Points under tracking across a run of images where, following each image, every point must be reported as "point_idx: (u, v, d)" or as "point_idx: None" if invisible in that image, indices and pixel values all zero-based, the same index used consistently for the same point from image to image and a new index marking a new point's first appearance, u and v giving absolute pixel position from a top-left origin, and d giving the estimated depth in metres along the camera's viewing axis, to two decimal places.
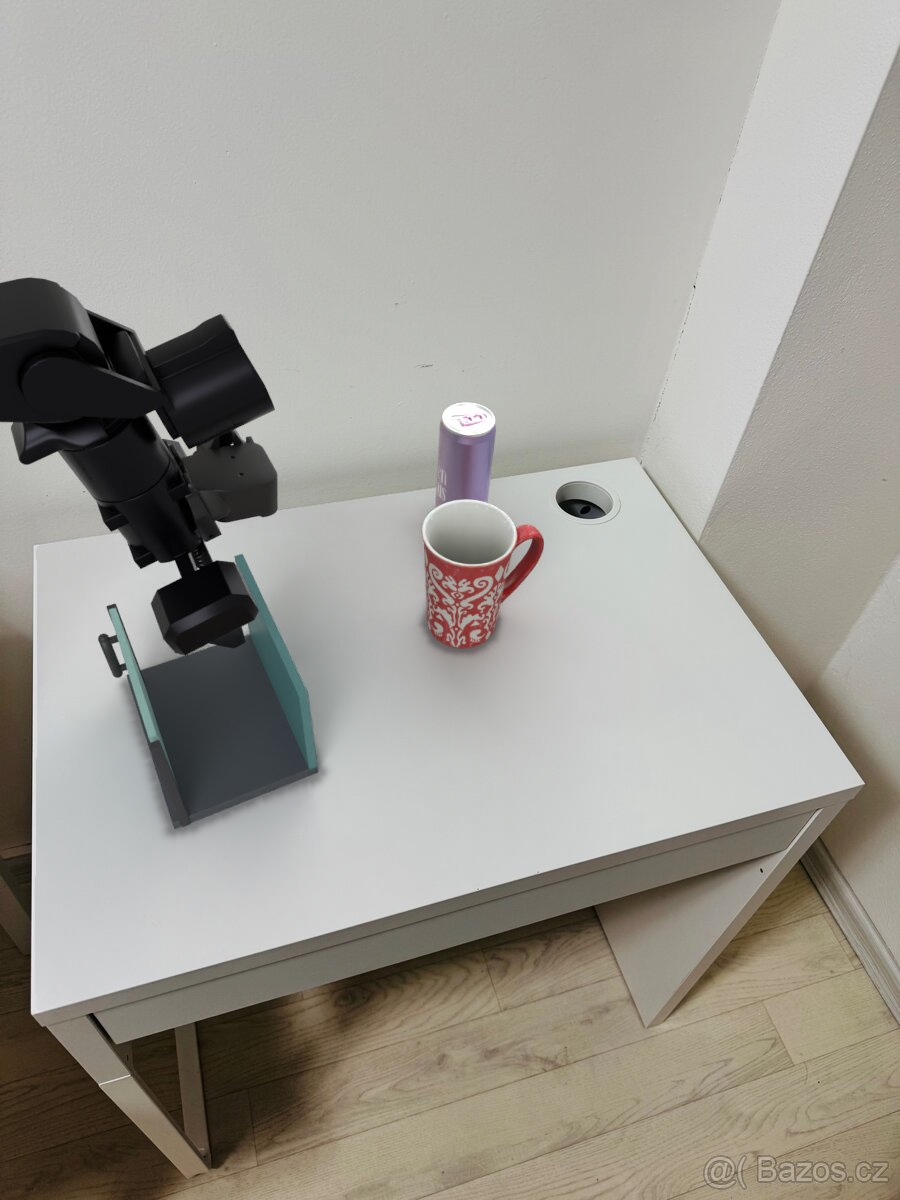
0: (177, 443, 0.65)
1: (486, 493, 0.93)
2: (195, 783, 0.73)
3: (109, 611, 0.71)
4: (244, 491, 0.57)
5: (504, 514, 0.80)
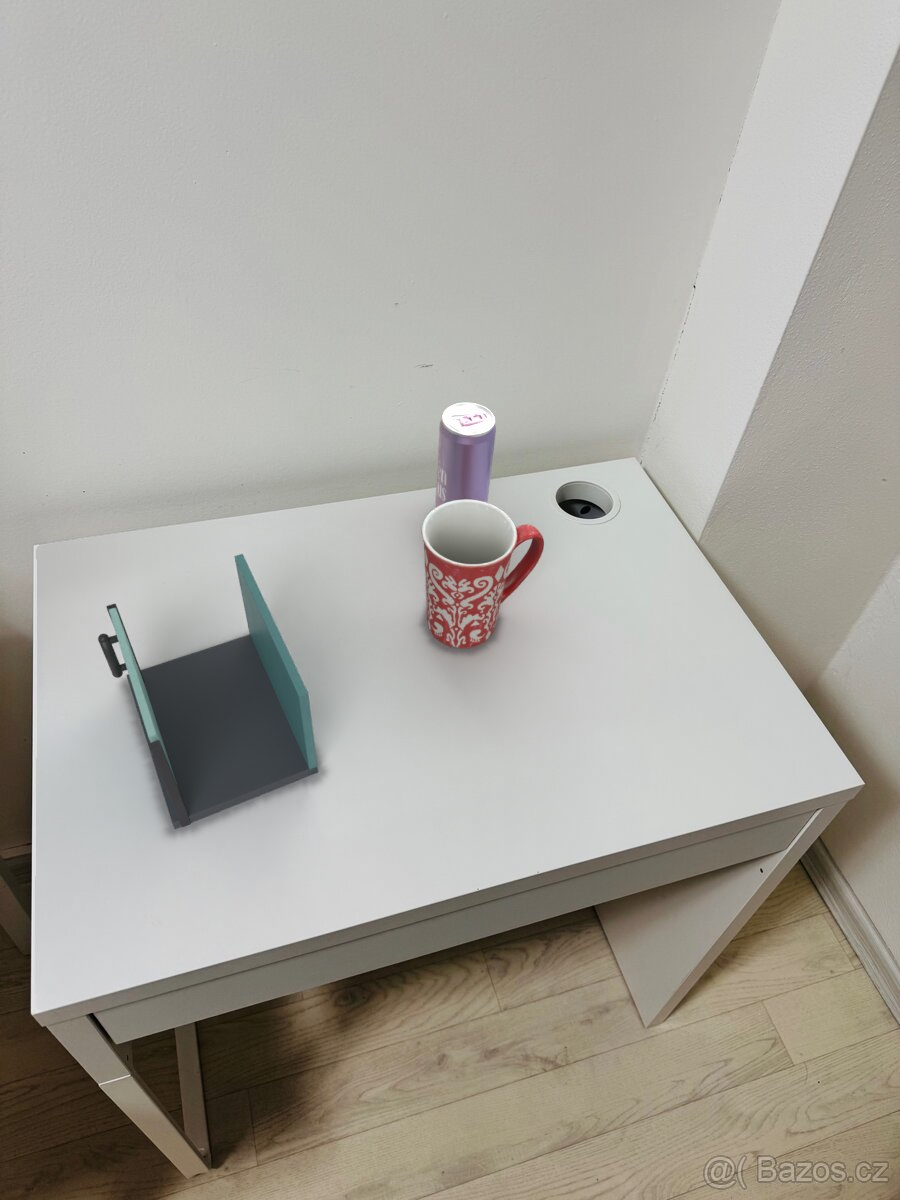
0: None
1: (486, 493, 0.93)
2: (195, 783, 0.73)
3: (109, 611, 0.71)
4: None
5: (504, 514, 0.80)
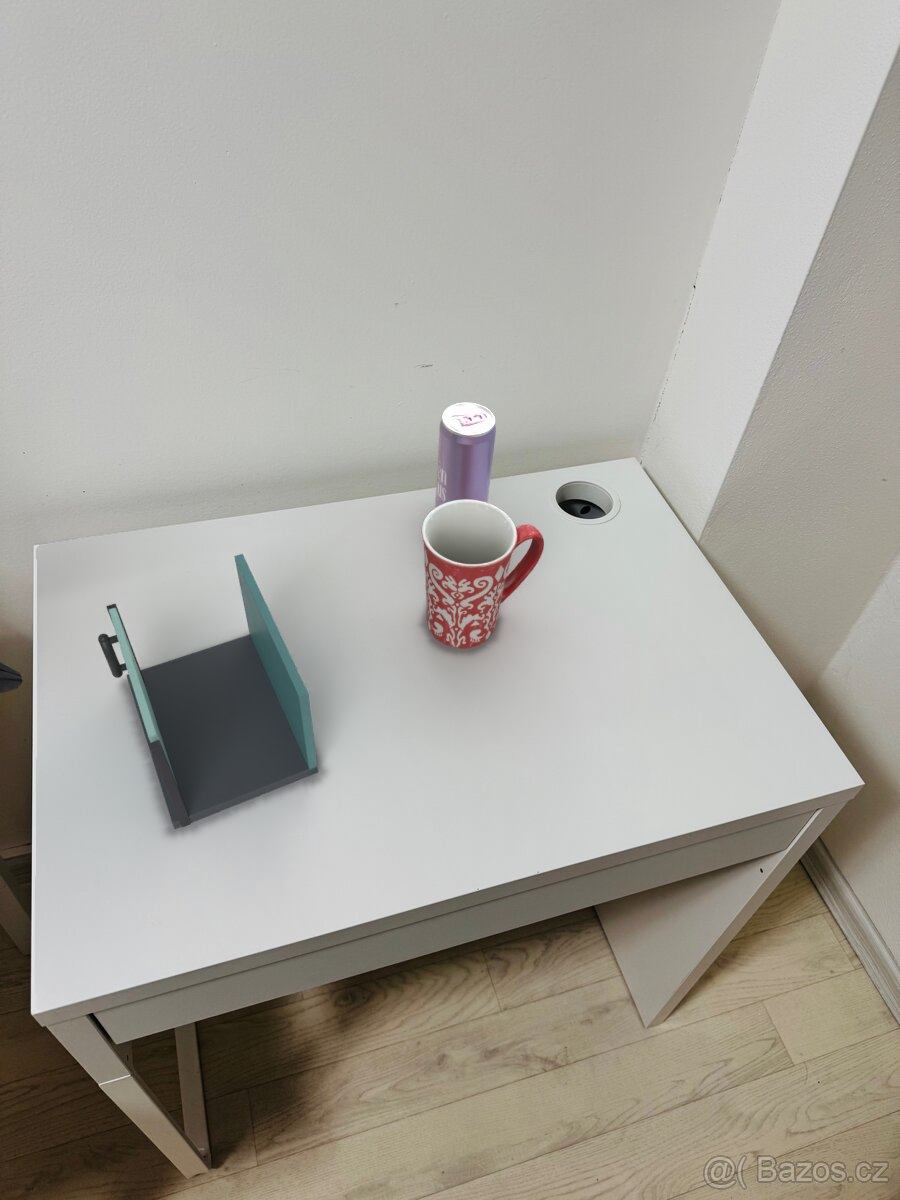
0: None
1: (486, 493, 0.93)
2: (195, 783, 0.73)
3: (109, 611, 0.71)
4: None
5: (504, 514, 0.80)
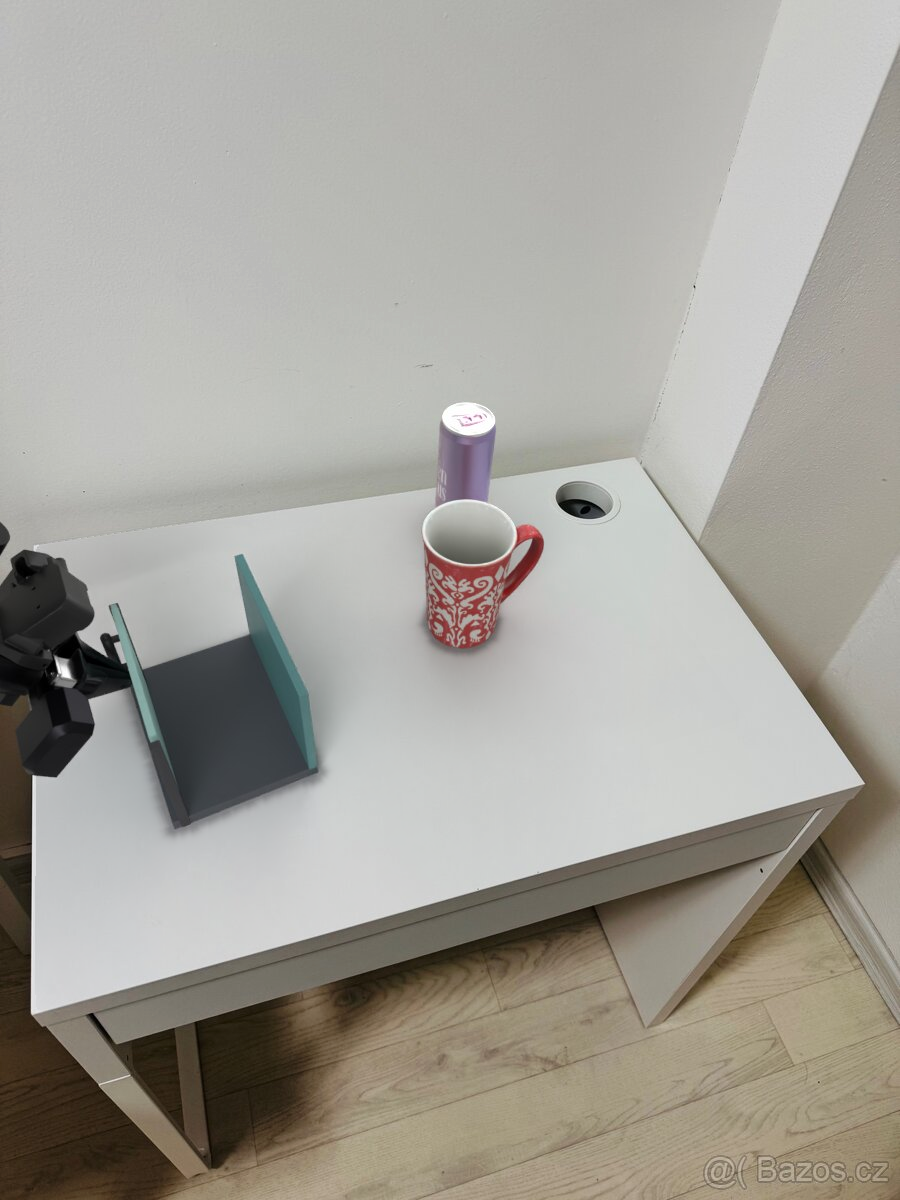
0: None
1: (486, 493, 0.93)
2: (195, 783, 0.73)
3: (111, 610, 0.71)
4: (42, 624, 0.61)
5: (504, 514, 0.80)
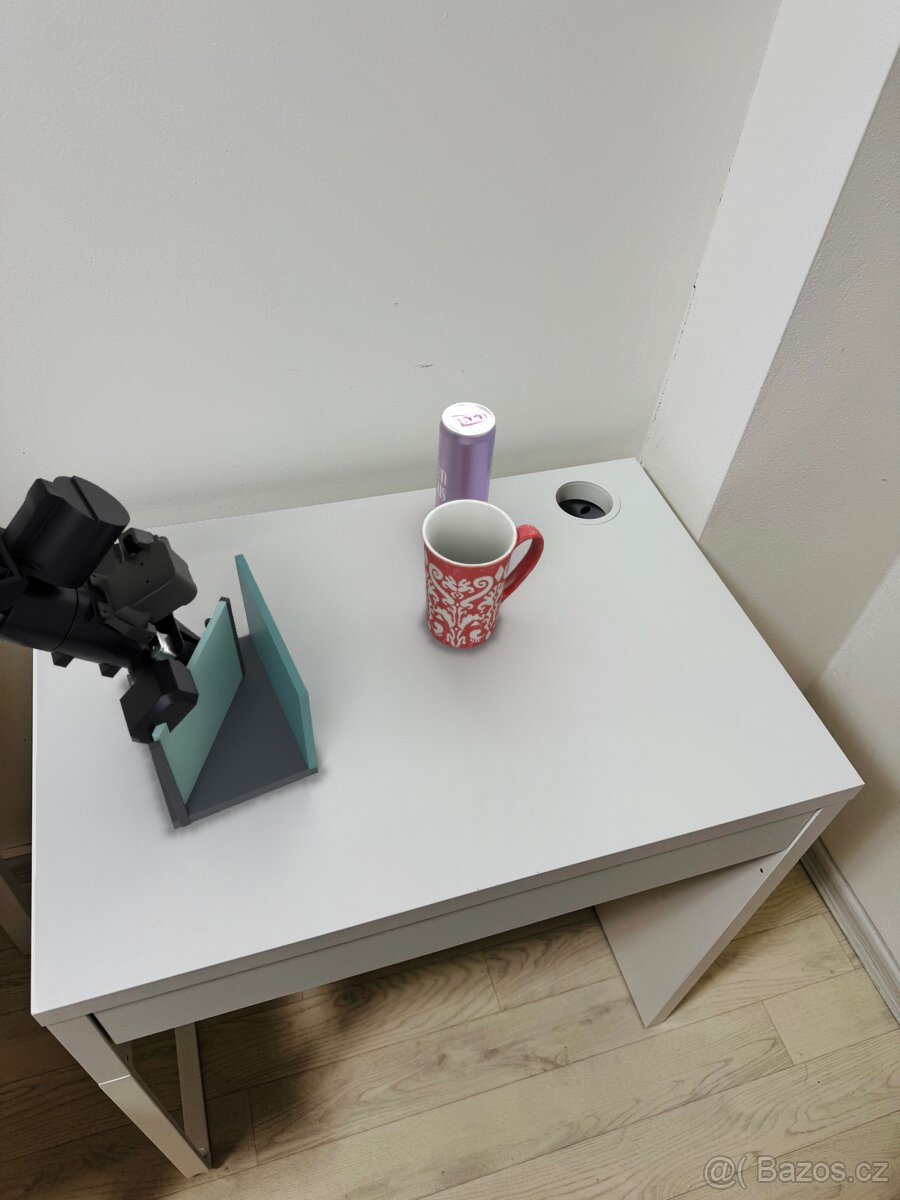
0: None
1: (486, 493, 0.93)
2: (195, 783, 0.73)
3: (219, 602, 0.73)
4: (152, 597, 0.64)
5: (504, 514, 0.80)
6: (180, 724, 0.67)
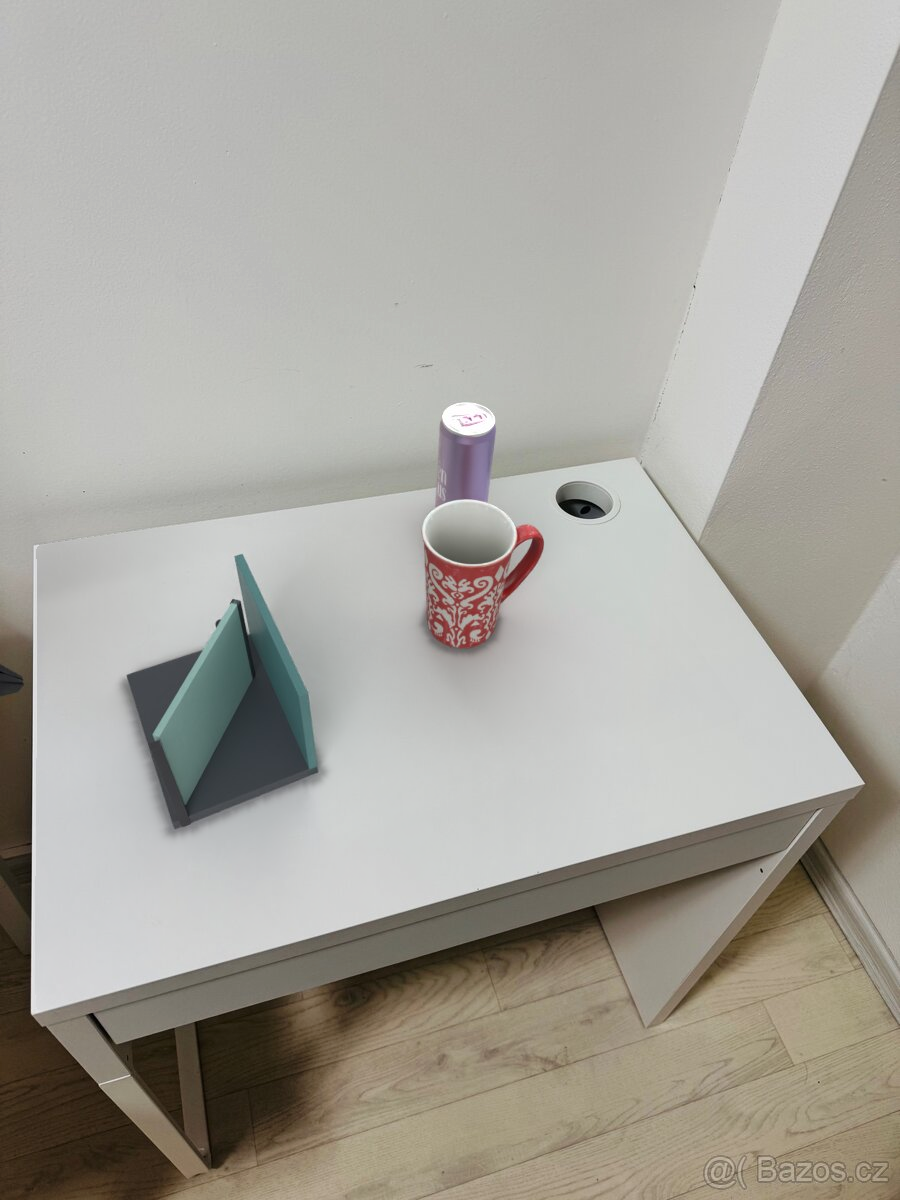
0: None
1: (486, 493, 0.93)
2: None
3: (230, 604, 0.72)
4: None
5: (504, 514, 0.80)
6: (183, 725, 0.67)
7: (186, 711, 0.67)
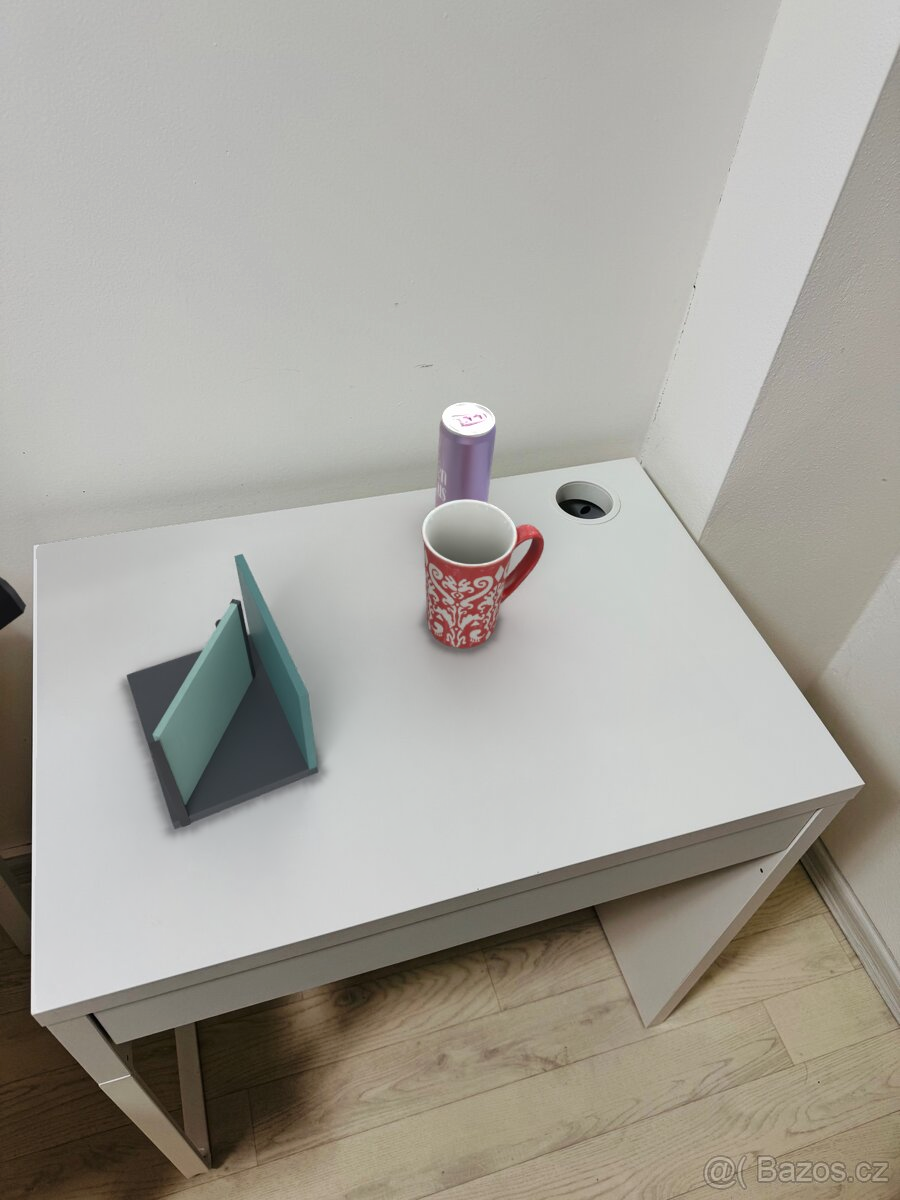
0: (5, 595, 0.57)
1: (486, 493, 0.93)
2: None
3: (230, 604, 0.72)
4: None
5: (504, 514, 0.80)
6: (183, 725, 0.67)
7: (186, 711, 0.67)
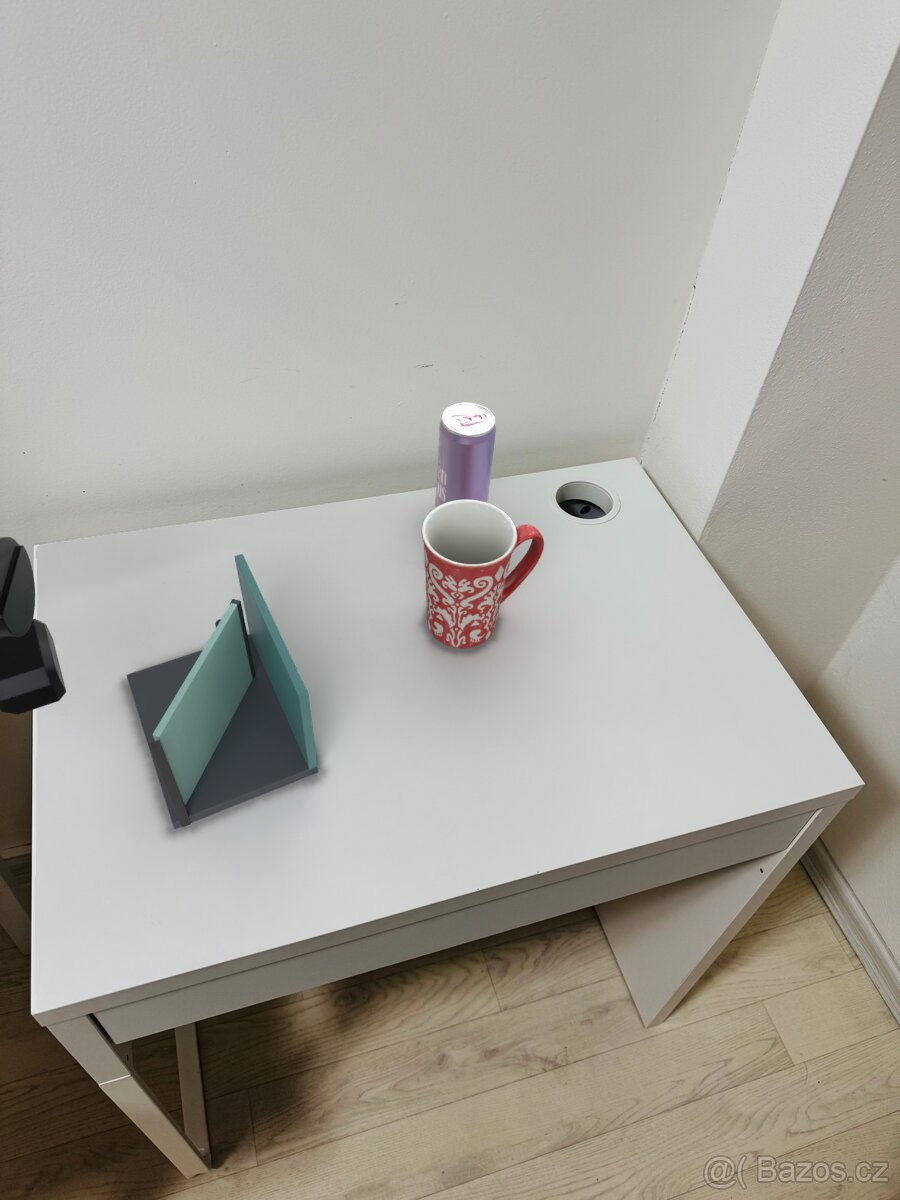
0: (45, 683, 0.54)
1: (486, 493, 0.93)
2: None
3: (230, 604, 0.72)
4: None
5: (504, 514, 0.80)
6: (183, 725, 0.67)
7: (186, 711, 0.67)
